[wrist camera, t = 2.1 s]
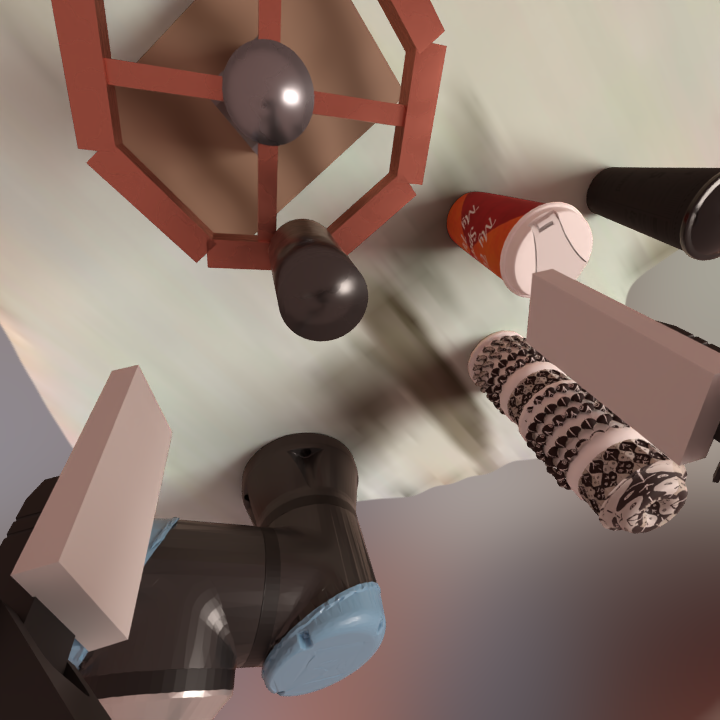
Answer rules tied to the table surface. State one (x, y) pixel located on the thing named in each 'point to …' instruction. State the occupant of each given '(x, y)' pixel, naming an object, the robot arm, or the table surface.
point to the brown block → (215, 127)
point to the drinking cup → (663, 205)
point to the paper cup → (520, 237)
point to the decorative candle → (579, 436)
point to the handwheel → (262, 150)
